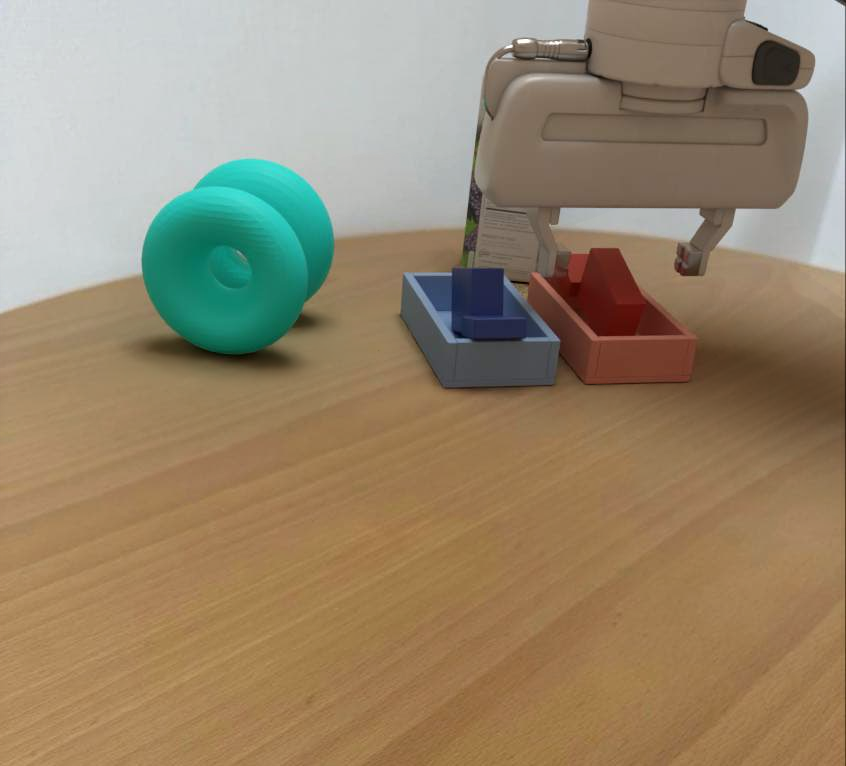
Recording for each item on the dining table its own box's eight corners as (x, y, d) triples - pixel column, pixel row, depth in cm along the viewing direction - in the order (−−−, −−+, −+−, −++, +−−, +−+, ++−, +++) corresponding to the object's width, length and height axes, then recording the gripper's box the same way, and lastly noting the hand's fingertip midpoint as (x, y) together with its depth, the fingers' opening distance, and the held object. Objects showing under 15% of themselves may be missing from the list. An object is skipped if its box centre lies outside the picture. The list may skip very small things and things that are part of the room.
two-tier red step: (554, 267, 80) (568, 218, 77) (597, 267, 80) (612, 218, 78) (591, 353, 74) (608, 303, 71) (637, 352, 75) (655, 303, 72)
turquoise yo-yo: (138, 349, 70) (129, 183, 65) (192, 295, 78) (188, 145, 73) (298, 372, 69) (302, 205, 64) (335, 315, 78) (341, 163, 72)
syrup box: (467, 253, 91) (486, 57, 84) (541, 262, 91) (567, 66, 83) (459, 276, 86) (479, 70, 79) (538, 285, 86) (565, 79, 78)
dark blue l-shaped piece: (526, 338, 68) (528, 268, 67) (473, 339, 67) (474, 268, 66) (489, 329, 76) (490, 267, 75) (442, 330, 76) (442, 267, 75)
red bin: (617, 311, 82) (624, 271, 81) (689, 381, 72) (698, 338, 71) (525, 312, 81) (530, 272, 79) (585, 384, 71) (592, 340, 69)
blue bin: (497, 312, 80) (502, 272, 79) (554, 385, 70) (561, 340, 69) (400, 313, 79) (402, 272, 77) (443, 388, 69) (447, 342, 67)
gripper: (504, 45, 62) (479, 293, 69) (842, 59, 67) (785, 289, 74) (473, 26, 67) (453, 259, 74) (788, 40, 72) (740, 257, 79)
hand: (621, 274), depth 74 cm, fingers open, 8 cm apart
